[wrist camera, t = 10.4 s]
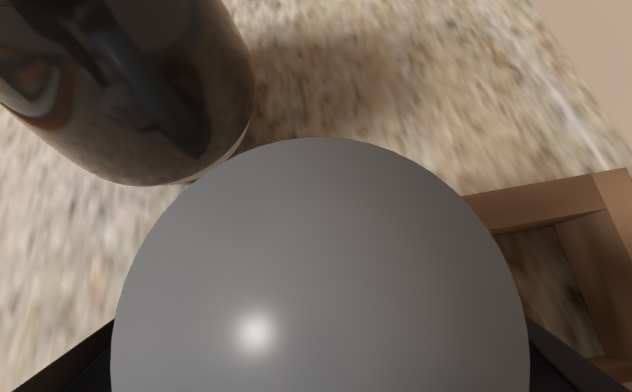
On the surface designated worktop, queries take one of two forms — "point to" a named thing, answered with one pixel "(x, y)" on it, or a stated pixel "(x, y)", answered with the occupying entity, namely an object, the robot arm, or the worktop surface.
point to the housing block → (581, 246)
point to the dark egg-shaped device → (129, 84)
